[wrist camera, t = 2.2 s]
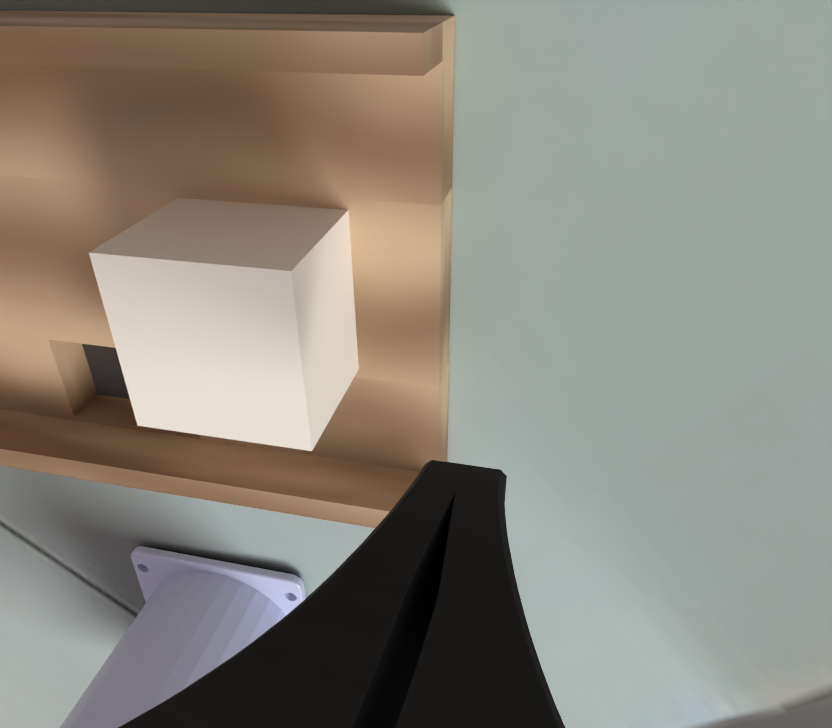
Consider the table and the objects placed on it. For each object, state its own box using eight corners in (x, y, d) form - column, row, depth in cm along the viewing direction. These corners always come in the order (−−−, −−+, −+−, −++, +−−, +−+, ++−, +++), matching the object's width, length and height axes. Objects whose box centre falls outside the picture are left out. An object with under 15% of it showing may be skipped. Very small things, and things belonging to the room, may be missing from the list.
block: (358, 369, 21) (312, 451, 17) (208, 351, 22) (137, 425, 18) (348, 210, 18) (290, 271, 15) (177, 197, 19) (88, 252, 16)
